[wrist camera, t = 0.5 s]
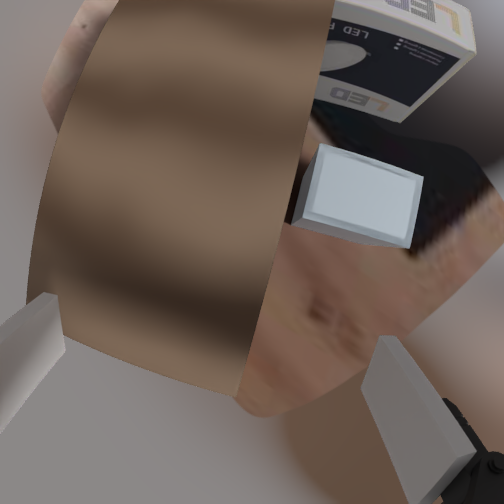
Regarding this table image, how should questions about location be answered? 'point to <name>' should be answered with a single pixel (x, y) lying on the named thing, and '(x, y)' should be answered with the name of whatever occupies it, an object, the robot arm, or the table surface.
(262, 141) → the walnut shelf
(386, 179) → the tall grey lidded box
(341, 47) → the packaging
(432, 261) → the table surface
